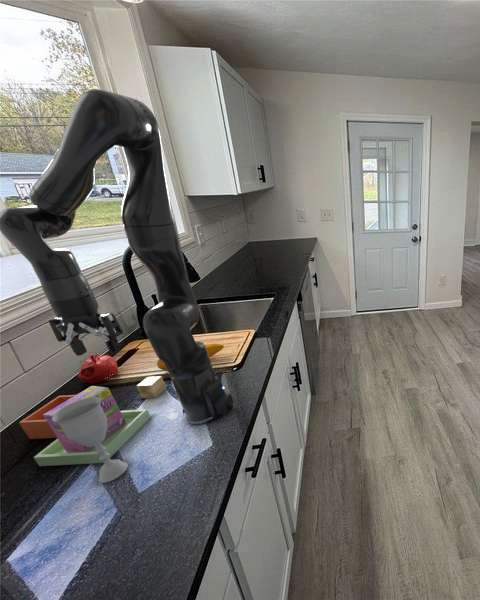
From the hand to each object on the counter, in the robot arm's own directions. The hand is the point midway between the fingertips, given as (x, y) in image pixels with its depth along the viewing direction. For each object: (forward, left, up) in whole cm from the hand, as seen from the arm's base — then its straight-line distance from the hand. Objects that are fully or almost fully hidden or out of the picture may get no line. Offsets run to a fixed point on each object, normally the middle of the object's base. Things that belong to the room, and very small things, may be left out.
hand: (99, 352), depth 80 cm
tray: (0, +9, -20) cm, 22 cm away
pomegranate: (+24, -19, -20) cm, 37 cm away
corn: (-4, -25, -20) cm, 32 cm away
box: (+1, +9, -20) cm, 21 cm away
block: (-1, -9, -20) cm, 22 cm away
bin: (+15, +2, -20) cm, 25 cm away
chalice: (-12, +19, -20) cm, 30 cm away
